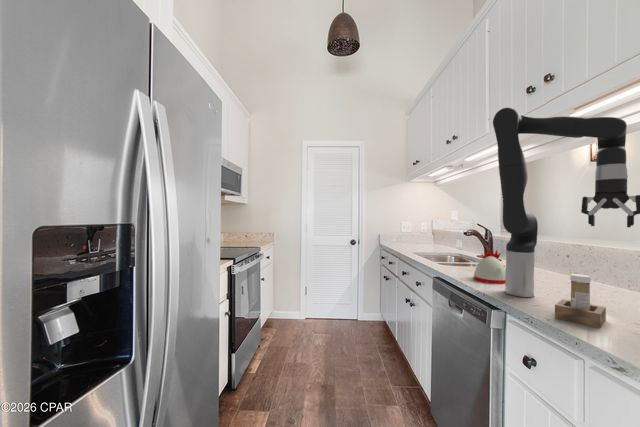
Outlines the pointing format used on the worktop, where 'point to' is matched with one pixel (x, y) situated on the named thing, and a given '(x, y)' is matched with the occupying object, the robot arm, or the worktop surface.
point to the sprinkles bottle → (580, 291)
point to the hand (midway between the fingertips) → (610, 226)
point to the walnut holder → (581, 314)
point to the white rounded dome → (490, 269)
